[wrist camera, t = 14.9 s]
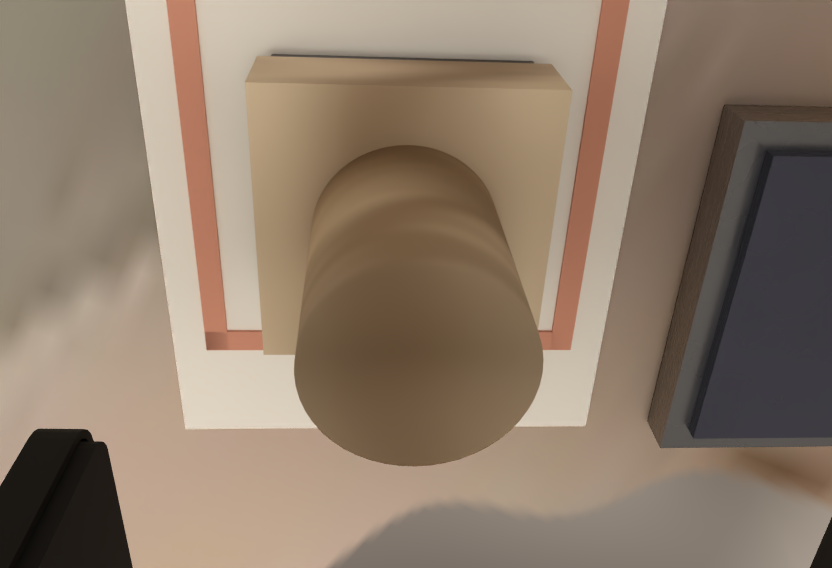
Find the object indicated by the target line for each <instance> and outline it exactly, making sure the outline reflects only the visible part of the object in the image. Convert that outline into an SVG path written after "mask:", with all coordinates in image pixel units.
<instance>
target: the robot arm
mask: <svg viewBox="0 0 832 568" xmlns="http://www.w3.org/2000/svg"><path fill="white" fill-rule="evenodd" d="M0 568H133V567H132V563H131V558H130V553H129V548H128V543H127V539H126V534H125V529H124V524H123V520H122V515H121V510H120V505H119V501H118V496H117V491H116V486H115V481H114V477H113V472H112V467H111V462H110V458H109V453H108V449H107V446H106V444H105V443H104V442H94V441H93V438H92V435H91V433H90V432H89V431H88V430H85V429H37V430H36V431H34V432H33V433H32V434H31V436H30V437H29V439H28V440H27V442H26V444H25V445H24V447H23V449H22V450H21V452H20V454H19V455H18V457H17V459H16V460H15V462H14V464H13V465H12V467H11V469H10V471H9V472H8V474H7V476H6V477H5V479H4V481H3V482H2V484H1V486H0ZM810 568H832V518H831V520H830V523H829V525H828V527H827V530H826V532H825V534H824V536H823V539H822V541H821V544H820V546H819V548H818V550H817V553H816V555H815V557H814V560H813V562H812V564H811V567H810Z"/></svg>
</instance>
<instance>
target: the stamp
mask: <svg viewBox="0 0 832 568" xmlns="http://www.w3.org/2000/svg"><path fill="white" fill-rule="evenodd" d="M245 93H246V107H247V122H248V136H249V151H250V165H251V180H252V194H253V209H254V223H255V238H256V252H257V267H258V281H259V296H260V310H261V325H262V339H263V354H264V355H295V360H294V378H295V385H296V389H297V393H298V396H299V399H300V401H301V404H302V406H303V408H304V410H305V412H306V413H307V415H308V416H309V418H310V419H311V421H312V422H313V423H314V424H315V425H316V426H317V428H318V429H319V430H320V431H321V432H322V433H323V434H324V435H326V436H327V437H328V438H329V439H330V440H332V441H333V442H334V443H336V444H337V445H339V446H341V447H342V448H344V449H346V450H348V451H350V452H352V453H354V454H356V455H358V456H361V457H364V458H366V459H369V460H372V461H376V462H381V463H385V464H392V465H399V466H427V465H435V464H441V463H446V462H450V461H454V460H458V459H461V458H464V457H466V456H469V455H472V454H474V453H476V452H478V451H480V450H482V449H484V448H486V447H488V446H490V445H491V444H493V443H494V442H496V441H497V440H499V439H500V438H501V437H503V436H504V435H505V434H506V433H508V432H509V431H510V430H511V429H512V428H513V427H514V426H515V425H516V424H517V423H518V422H519V421H520V420H521V418H522V417H523V416H524V415H525V413H526V412H527V411H528V409H529V407H530V406H531V404H532V402H533V400H534V399H535V396H536V394H537V391H538V389H539V386H540V382H541V378H542V373H543V361H544V359H543V348H542V343H541V339H540V336H539V332H538V326H539V319H540V312H541V305H542V298H543V291H544V284H545V277H546V270H547V263H548V257H549V250H550V243H551V236H552V229H553V222H554V215H555V208H556V201H557V194H558V187H559V180H560V173H561V166H562V159H563V152H564V145H565V138H566V131H567V125H568V118H569V111H570V104H571V97H572V89H571V88H570V87H569V85H568V84H567V83H566V82H565V80H564V79H563V78H562V77H561V75H560V74H559V73H558V71H557V70H556V69H555V68H554V66H553V65H552V64H537V63H534V62H533V61H513V60H476V59H440V58H403V57H367V56H331V55H294V54H271V56H257V57H256V59H255V61H254V63H253V66H252V68H251V70H250V72H249V74H248V76H247V79H246V81H245Z"/></svg>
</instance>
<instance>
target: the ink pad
mask: <svg viewBox="0 0 832 568" xmlns="http://www.w3.org/2000/svg"><path fill="white" fill-rule="evenodd" d="M648 423H649V426H650V428H651V430H652V432H653V434H654V436H655V438H656V440H657V442H658V444H659V446H660V448H701V447H804V446H832V107H794V106H748V105H724V109H723V113H722V117H721V121H720V125H719V129H718V134H717V138H716V142H715V146H714V150H713V154H712V158H711V162H710V166H709V171H708V175H707V179H706V183H705V187H704V191H703V195H702V199H701V203H700V208H699V212H698V216H697V220H696V224H695V228H694V232H693V236H692V240H691V245H690V249H689V253H688V257H687V261H686V265H685V269H684V273H683V277H682V282H681V286H680V290H679V294H678V298H677V302H676V306H675V310H674V314H673V319H672V323H671V327H670V331H669V335H668V339H667V343H666V347H665V351H664V356H663V360H662V364H661V368H660V372H659V376H658V380H657V384H656V388H655V392H654V397H653V401H652V405H651V409H650V413H649V417H648Z"/></svg>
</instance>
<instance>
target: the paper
mask: <svg viewBox="0 0 832 568" xmlns="http://www.w3.org/2000/svg"><path fill="white" fill-rule="evenodd" d="M667 1H668V0H125V3H126V11H127V18H128V25H129V32H130V39H131V46H132V53H133V60H134V67H135V74H136V82H137V89H138V96H139V103H140V110H141V117H142V124H143V131H144V138H145V145H146V153H147V160H148V167H149V174H150V181H151V188H152V195H153V202H154V209H155V216H156V224H157V231H158V238H159V245H160V252H161V259H162V266H163V273H164V280H165V287H166V295H167V302H168V309H169V316H170V323H171V330H172V337H173V344H174V351H175V358H176V366H177V373H178V380H179V387H180V394H181V401H182V408H183V415H184V422H185V429H270V428H317V426H316V425H315V424H314V423H313V422H312V421H311V419H310V418H309V416H308V415H307V413H306V412H305V410H304V408H303V406H302V404H301V401H300V399H299V396H298V393H297V389H296V385H295V378H294V360H295V355H264V354H263V339H262V325H261V310H260V296H259V281H258V267H257V252H256V238H255V223H254V209H253V194H252V180H251V165H250V151H249V136H248V122H247V107H246V93H245V81H246V79H247V76H248V74H249V72H250V70H251V68H252V66H253V63H254V61H255V59H256V57H257V56H271V54H294V55H331V56H367V57H403V58H440V59H476V60H513V61H533V62H534V63H537V64H552V65H553V66H554V68H555V69H556V70H557V71H558V73H559V74H560V75H561V77H562V78H563V79H564V80H565V82H566V83H567V84H568V85H569V87H570V88H571V89H572V97H571V104H570V111H569V118H568V125H567V131H566V138H565V145H564V152H563V159H562V166H561V173H560V180H559V187H558V194H557V201H556V208H555V215H554V222H553V229H552V236H551V243H550V250H549V257H548V263H547V270H546V277H545V284H544V291H543V298H542V305H541V312H540V319H539V326H538V332H539V336H540V339H541V343H542V348H543V359H544V361H543V373H542V378H541V382H540V386H539V389H538V391H537V394H536V396H535V399H534V400H533V402H532V404H531V406H530V407H529V409H528V411H527V412H526V413H525V415H524V416H523V417H522V418H521V420H520V421H519V422H518V423H517V424H516V425H515V426H514V427H531V426H586V421H587V416H588V411H589V406H590V400H591V395H592V390H593V385H594V380H595V374H596V369H597V364H598V359H599V354H600V349H601V343H602V338H603V333H604V328H605V323H606V317H607V312H608V307H609V302H610V297H611V291H612V286H613V281H614V276H615V271H616V266H617V260H618V255H619V250H620V245H621V240H622V234H623V229H624V224H625V219H626V214H627V208H628V203H629V198H630V193H631V188H632V183H633V177H634V172H635V167H636V162H637V157H638V151H639V146H640V141H641V136H642V131H643V125H644V120H645V115H646V110H647V105H648V99H649V94H650V89H651V84H652V79H653V74H654V68H655V63H656V58H657V53H658V48H659V42H660V37H661V32H662V27H663V22H664V16H665V11H666V6H667Z"/></svg>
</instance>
